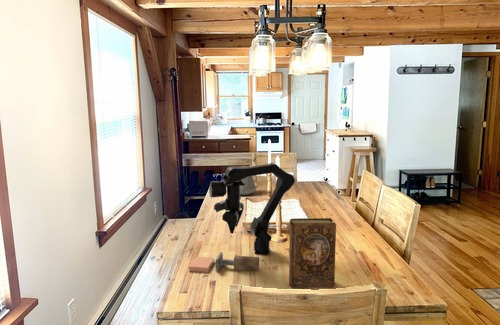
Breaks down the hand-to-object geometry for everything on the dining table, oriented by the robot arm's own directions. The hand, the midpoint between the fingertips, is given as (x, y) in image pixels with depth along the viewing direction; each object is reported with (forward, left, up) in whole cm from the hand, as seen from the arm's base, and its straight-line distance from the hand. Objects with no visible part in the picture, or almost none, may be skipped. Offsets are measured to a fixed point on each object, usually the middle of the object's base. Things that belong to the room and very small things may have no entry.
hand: (233, 229), depth 164 cm
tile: (+7, +13, -11) cm, 18 cm away
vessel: (+16, -112, -12) cm, 114 cm away
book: (-34, +22, -12) cm, 42 cm away
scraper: (-5, +13, -12) cm, 18 cm away
